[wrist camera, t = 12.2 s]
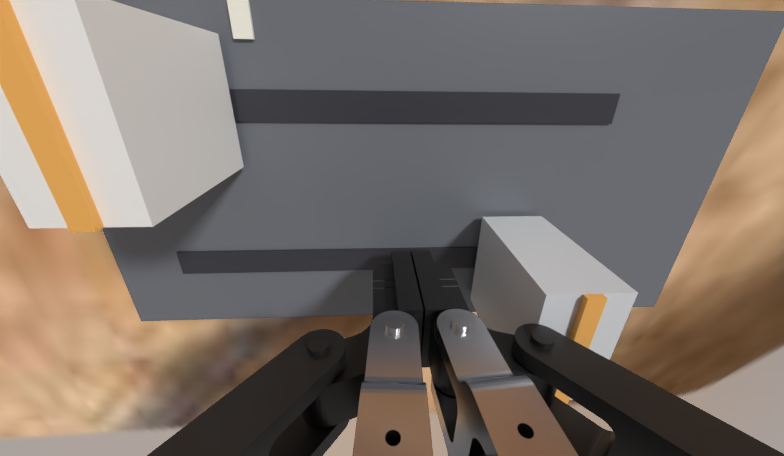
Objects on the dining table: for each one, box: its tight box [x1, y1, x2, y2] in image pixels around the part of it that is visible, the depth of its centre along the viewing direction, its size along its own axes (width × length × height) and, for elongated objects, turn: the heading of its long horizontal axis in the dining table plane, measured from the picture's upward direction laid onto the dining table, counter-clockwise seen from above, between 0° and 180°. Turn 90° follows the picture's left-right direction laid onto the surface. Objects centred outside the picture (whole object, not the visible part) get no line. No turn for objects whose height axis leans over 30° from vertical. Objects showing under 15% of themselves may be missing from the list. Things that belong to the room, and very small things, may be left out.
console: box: [103, 0, 784, 321], centre depth 13 cm, size 24×12×2 cm, turn 89°
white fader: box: [0, 0, 244, 232], centre depth 8 cm, size 2×4×5 cm, turn 179°
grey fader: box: [470, 216, 638, 405], centre depth 11 cm, size 2×4×5 cm, turn 0°
